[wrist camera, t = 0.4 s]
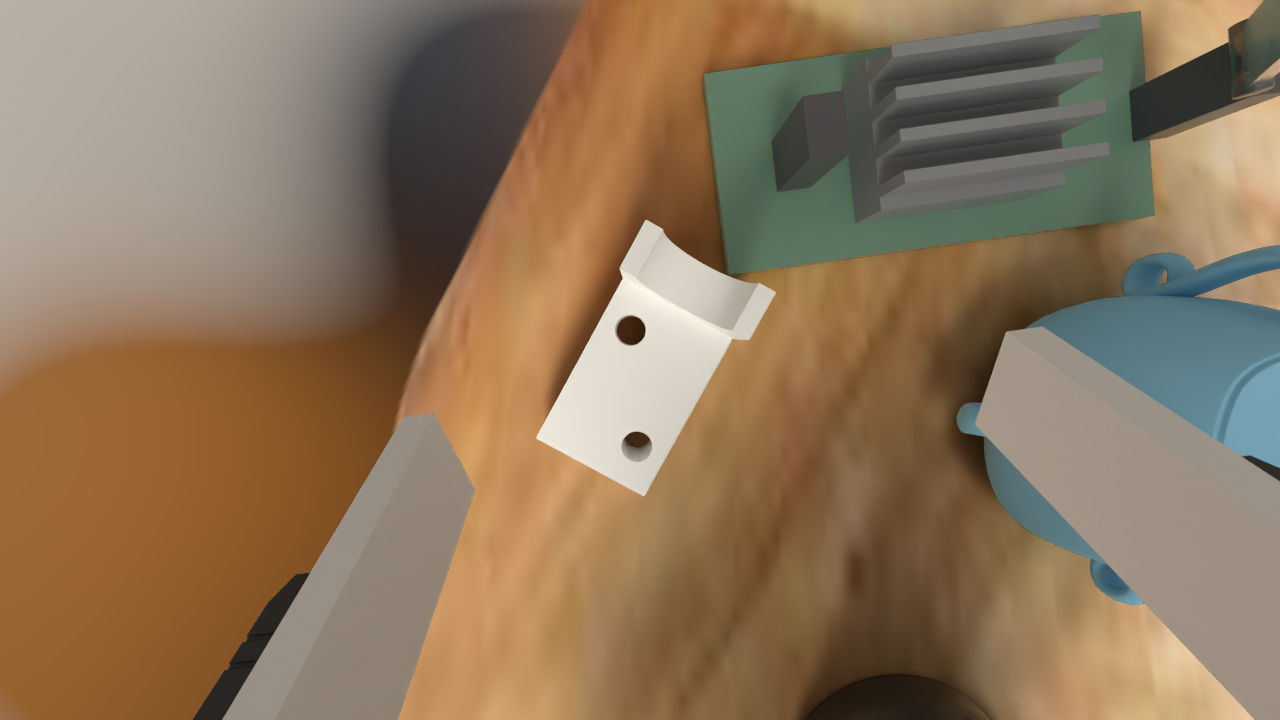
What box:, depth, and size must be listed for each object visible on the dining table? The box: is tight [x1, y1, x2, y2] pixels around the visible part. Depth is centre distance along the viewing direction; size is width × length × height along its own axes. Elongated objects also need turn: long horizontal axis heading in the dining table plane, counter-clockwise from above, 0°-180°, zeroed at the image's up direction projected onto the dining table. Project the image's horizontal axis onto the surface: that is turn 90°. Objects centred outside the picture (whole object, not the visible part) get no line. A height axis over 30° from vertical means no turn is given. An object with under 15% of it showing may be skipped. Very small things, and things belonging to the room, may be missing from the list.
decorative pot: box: [956, 245, 1280, 605], centre depth 23 cm, size 16×16×14 cm
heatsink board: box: [703, 11, 1280, 276], centre depth 25 cm, size 12×27×6 cm, turn 98°
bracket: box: [536, 220, 776, 496], centre depth 26 cm, size 13×7×8 cm, turn 151°
